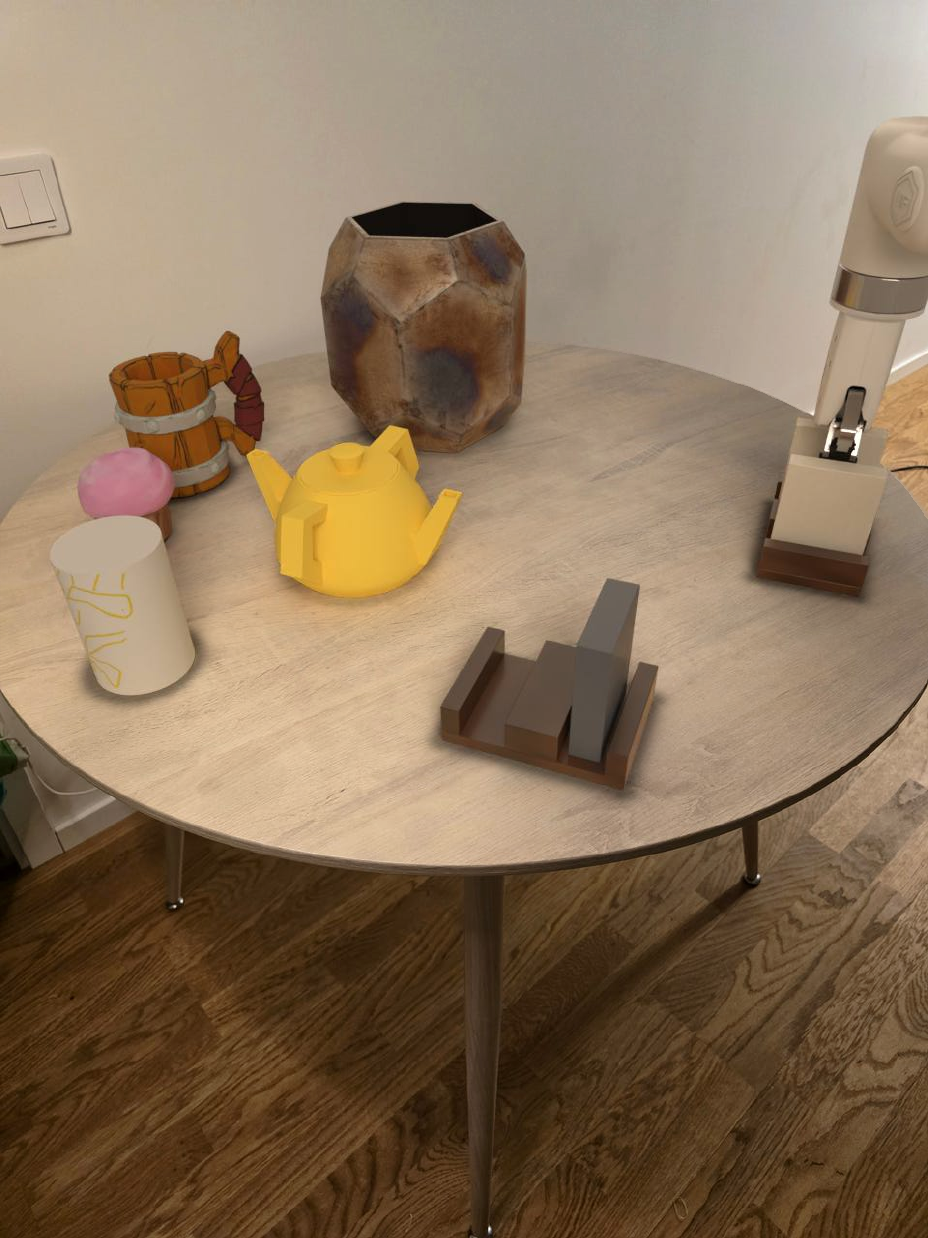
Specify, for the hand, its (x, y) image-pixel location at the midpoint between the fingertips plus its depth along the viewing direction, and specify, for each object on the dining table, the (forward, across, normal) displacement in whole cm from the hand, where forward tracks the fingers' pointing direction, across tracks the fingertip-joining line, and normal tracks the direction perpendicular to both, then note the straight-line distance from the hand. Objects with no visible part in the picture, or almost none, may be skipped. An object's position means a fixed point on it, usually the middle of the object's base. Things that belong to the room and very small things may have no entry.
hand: (831, 471), depth 83 cm
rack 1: (+6, +35, -17) cm, 40 cm away
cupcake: (+7, +26, -63) cm, 68 cm away
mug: (+7, +11, -66) cm, 67 cm away
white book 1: (+5, 0, 0) cm, 5 cm away
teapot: (+7, +21, -41) cm, 46 cm away
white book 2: (+5, +8, 0) cm, 9 cm away
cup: (+7, +41, -51) cm, 66 cm away
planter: (+7, -9, -46) cm, 47 cm away
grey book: (+5, +35, -13) cm, 38 cm away
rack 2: (+6, +4, 0) cm, 7 cm away
